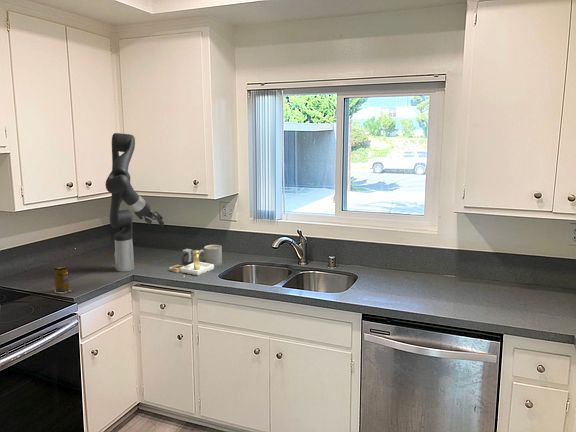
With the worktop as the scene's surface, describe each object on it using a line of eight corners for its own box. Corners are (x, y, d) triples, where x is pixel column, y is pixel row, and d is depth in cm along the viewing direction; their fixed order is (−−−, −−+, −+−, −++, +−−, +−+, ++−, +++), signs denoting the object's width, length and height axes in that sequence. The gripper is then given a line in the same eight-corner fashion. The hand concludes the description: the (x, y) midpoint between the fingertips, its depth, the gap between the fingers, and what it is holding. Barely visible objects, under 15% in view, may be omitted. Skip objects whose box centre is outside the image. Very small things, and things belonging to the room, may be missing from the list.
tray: (180, 272, 251) (180, 267, 250) (197, 265, 263) (197, 261, 262) (197, 275, 245) (197, 271, 245) (214, 268, 257) (214, 264, 257)
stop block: (169, 270, 253) (169, 267, 253) (177, 267, 259) (176, 264, 258) (177, 272, 251) (177, 269, 250) (185, 269, 256) (185, 266, 255)
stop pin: (191, 269, 253) (190, 251, 251) (196, 267, 256) (195, 249, 255) (197, 270, 251) (196, 251, 250) (202, 268, 255) (200, 250, 253)
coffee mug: (224, 261, 271) (224, 245, 269) (218, 266, 261) (218, 249, 259) (202, 260, 273) (202, 244, 271) (196, 265, 264) (195, 248, 262)
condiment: (67, 287, 227) (65, 264, 225) (74, 291, 222) (72, 267, 219) (51, 291, 222) (49, 267, 220) (58, 295, 216) (56, 271, 214)
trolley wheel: (181, 267, 260) (180, 251, 258) (189, 264, 266) (188, 248, 264) (186, 268, 258) (185, 251, 256) (194, 265, 264) (193, 248, 262)
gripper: (152, 200, 224) (170, 219, 236) (131, 197, 230) (150, 216, 242) (145, 212, 220) (163, 231, 232) (124, 210, 227) (143, 228, 239)
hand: (156, 223), depth 237 cm, fingers open, 8 cm apart
